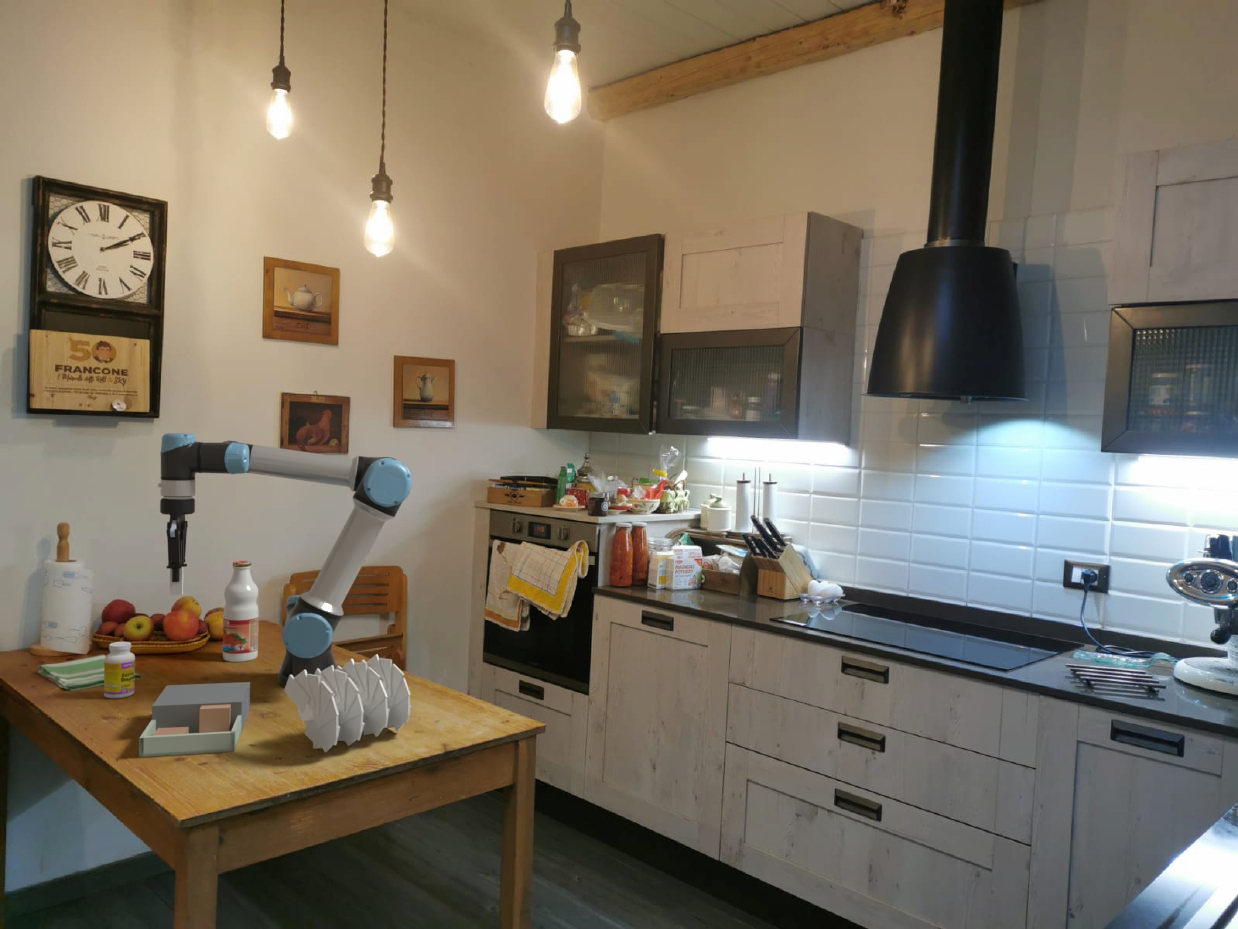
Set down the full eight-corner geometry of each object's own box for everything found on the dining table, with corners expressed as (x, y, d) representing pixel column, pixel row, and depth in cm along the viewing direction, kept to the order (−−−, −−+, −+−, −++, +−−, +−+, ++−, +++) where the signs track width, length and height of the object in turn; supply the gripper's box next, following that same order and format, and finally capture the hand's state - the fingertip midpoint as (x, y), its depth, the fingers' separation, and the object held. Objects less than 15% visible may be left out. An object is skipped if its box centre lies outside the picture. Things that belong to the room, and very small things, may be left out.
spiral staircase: (408, 748, 206) (312, 774, 186) (367, 700, 215) (271, 719, 195) (436, 683, 201) (340, 702, 181) (392, 636, 210) (297, 650, 191)
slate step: (249, 711, 215) (250, 682, 215) (241, 733, 200) (241, 701, 200) (166, 715, 210) (166, 685, 210) (151, 738, 195) (152, 706, 195)
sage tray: (241, 733, 200) (241, 715, 200) (234, 751, 189) (234, 732, 189) (151, 738, 195) (151, 719, 195) (139, 757, 184) (139, 738, 184)
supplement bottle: (121, 700, 220) (121, 648, 219) (97, 698, 221) (97, 646, 220) (140, 692, 226) (141, 641, 226) (117, 690, 227) (118, 639, 227)
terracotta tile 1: (231, 704, 199) (229, 707, 197) (230, 731, 199) (229, 734, 197) (201, 705, 198) (199, 709, 195) (201, 732, 198) (199, 736, 195)
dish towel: (66, 694, 225) (66, 683, 224) (34, 674, 240) (34, 664, 240) (141, 680, 238) (142, 670, 238) (106, 662, 253) (107, 653, 253)
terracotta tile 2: (181, 736, 188) (181, 748, 188) (188, 726, 194) (188, 738, 194) (150, 737, 187) (150, 749, 187) (158, 728, 193) (158, 739, 193)
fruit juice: (264, 658, 262) (266, 562, 260) (233, 664, 254) (234, 565, 253) (247, 652, 267) (248, 558, 266) (216, 658, 260) (217, 561, 259)
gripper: (166, 494, 223) (165, 589, 224) (154, 499, 210) (153, 600, 211) (199, 495, 225) (198, 589, 226) (189, 500, 212) (188, 599, 213)
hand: (176, 594), depth 218 cm, fingers closed
